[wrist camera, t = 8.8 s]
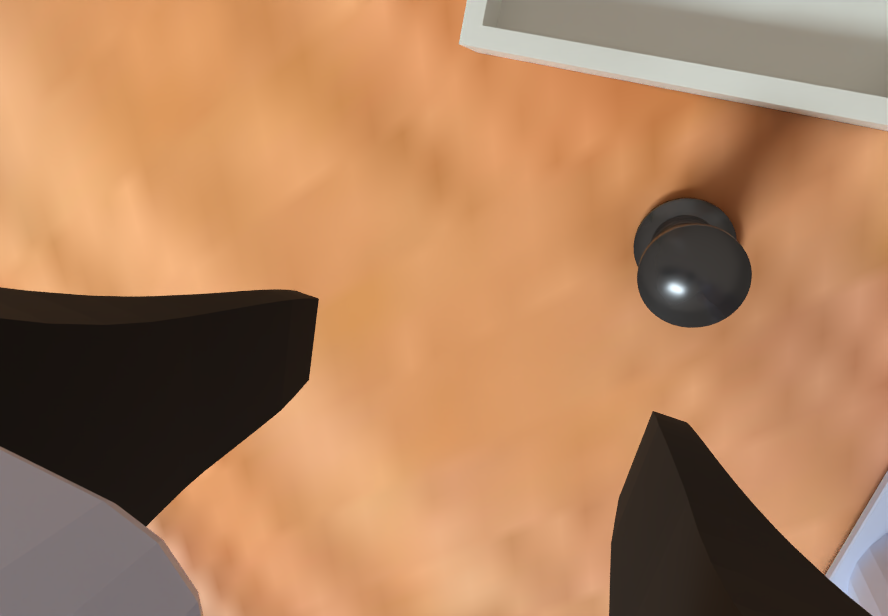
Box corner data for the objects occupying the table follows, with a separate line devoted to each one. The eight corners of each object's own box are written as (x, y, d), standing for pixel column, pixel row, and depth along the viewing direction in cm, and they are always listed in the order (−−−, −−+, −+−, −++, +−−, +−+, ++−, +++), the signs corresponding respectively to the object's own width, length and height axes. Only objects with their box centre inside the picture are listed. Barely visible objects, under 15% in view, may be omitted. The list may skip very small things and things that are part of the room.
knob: (750, 211, 17) (782, 236, 13) (714, 301, 18) (732, 350, 14) (650, 187, 18) (651, 203, 14) (621, 275, 19) (613, 314, 15)
